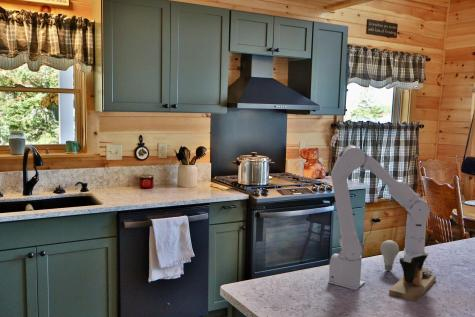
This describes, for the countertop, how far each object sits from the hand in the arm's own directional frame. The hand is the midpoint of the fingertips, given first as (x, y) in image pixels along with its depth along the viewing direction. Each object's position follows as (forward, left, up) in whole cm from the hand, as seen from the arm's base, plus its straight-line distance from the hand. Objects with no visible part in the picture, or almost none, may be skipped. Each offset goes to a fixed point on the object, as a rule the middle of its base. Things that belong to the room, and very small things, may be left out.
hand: (412, 278), depth 141 cm
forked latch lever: (0, +6, -1) cm, 6 cm away
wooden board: (0, +1, -3) cm, 4 cm away
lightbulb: (-11, +10, -3) cm, 16 cm away
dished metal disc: (0, +10, -2) cm, 10 cm away
